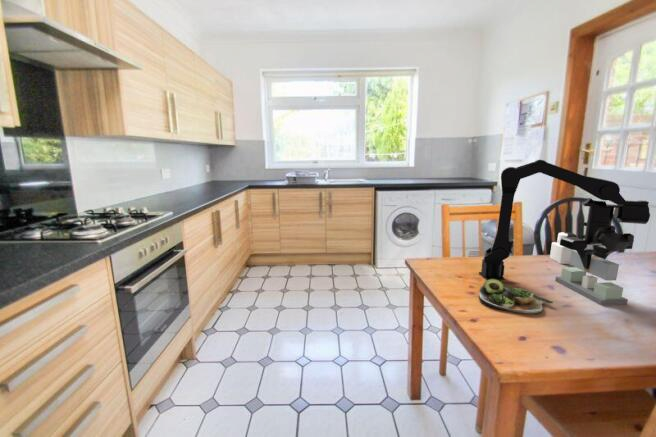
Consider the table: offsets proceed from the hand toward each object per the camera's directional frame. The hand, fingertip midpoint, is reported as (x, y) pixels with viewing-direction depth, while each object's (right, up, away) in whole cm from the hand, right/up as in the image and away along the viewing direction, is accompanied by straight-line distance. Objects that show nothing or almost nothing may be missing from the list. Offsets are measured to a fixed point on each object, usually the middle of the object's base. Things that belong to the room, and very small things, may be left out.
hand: (591, 268), depth 99 cm
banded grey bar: (0, -1, 0) cm, 1 cm away
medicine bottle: (+14, -2, +29) cm, 32 cm away
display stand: (0, -8, +2) cm, 8 cm away
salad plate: (-29, -10, -3) cm, 30 cm away
